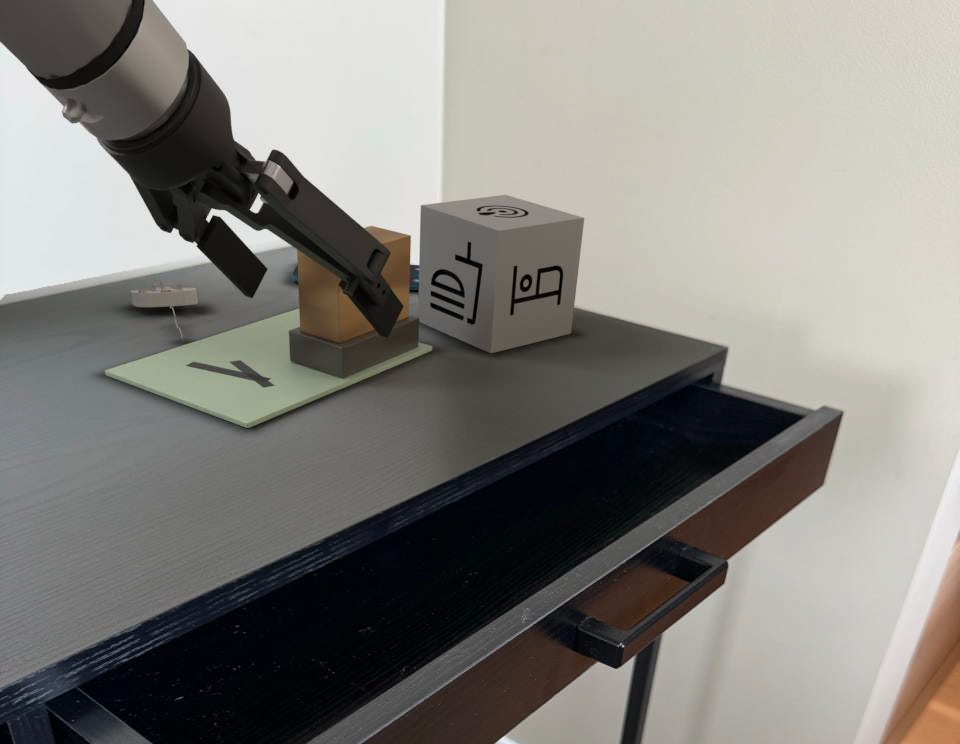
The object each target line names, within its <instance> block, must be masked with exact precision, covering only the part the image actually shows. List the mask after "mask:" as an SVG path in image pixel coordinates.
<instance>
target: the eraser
mask: <svg viewBox="0 0 960 744" xmlns="http://www.w3.org/2000/svg"><path fill="white" fill-rule="evenodd" d="M363 228H364V229H365V230H366V231H368V232H369V233H370V234H371V235H372V236H373V237H375V238H376V239H377V240H378V241H379V242H380V243H382V244H383V245H384V246H385V247H386V248H387V249H388V250H389V251H390V256H389V258H388V260H387V262H386V264H385V266H384V268H383V270H382V272H381V275H382V276H383V277H384V279H385V280H386V282H387V283H388V284H389V286H390V287H391V289H392V291H393V292H394V293H395V295H396V296H397V297H398V299H399V300H400V302H401V303H402V304H403V306H404V307H403V309H402V311H401V313H400V315H399V317H398V319H397V321H396V323H395V325H394V327H393V329H392V331H391V333H390V335H389V337H388V338H387V337H383V336H380V335H379V334H378V333H377V331H376V330H375V329H374V328H373V326H372V325H371V324H370V323H369V322H368V320H367V319H366V318H365V317H364V315H363V314H362V313H361V312H360V311H359V309H358V308H357V307H356V306H355V305H354V303H353V302H352V301H351V300H350V298H349V297H348V296H347V295H345V294H344V293H342V292H343V290H342V289H341V287H340V286H339V283H340V281H341V279H340V278H339V277H337V276H336V275H334V274H333V273H331V272H330V271H328V270H327V269H325V268H324V267H323V266H321V265H320V264H318V263H317V262H315V261H314V260H312V259H311V258H309V257H308V256H306V255H305V254H303V253H302V252H300V251H299V250H297V249H296V256H297V257H296V260H297V264H298V281H297V284H298V285H297V287H298V309H299V313H300V327H298V328H295V329H292V330H289V346H290V361H291V362H294V363H297V364H300V365H303V366H306V367H309V368H312V369H315V370H318V371H321V372H324V373H327V374H330V375H333V376H336V377H339V378H342V379H344V378H346V377H348V376H351V375H353V374H355V373H358V372H360V371H363V370H365V369H367V368H370V367H372V366H374V365H377V364H379V363H382V362H384V361H386V360H389V359H391V358H393V357H396V356H398V355H401V354H403V353H405V352H408V351H410V350H412V349H415V348H417V347H418V342H420V341H419V338H420V336H419V335H420V322H419V318H418V316H413V315H411V314H410V290H409V286H410V265H411V251H412V250H411V248H412V247H411V246H412V235H410V234H408V233H407V234H406V233H402V232H399V231H395V230H390V229H387V228H382V227H378V226H373V225H369V226H365V227H363Z"/></svg>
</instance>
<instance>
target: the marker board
mask: <svg viewBox="0 0 960 744" xmlns="http://www.w3.org/2000/svg"><path fill="white" fill-rule="evenodd" d="M298 327H300V313H299V308H296V309H293V310H290V311H287V312H283V313H281V314H277V315H275V316H271V317H267V318H265V319H262V320H261V319H260V320H258V321H255V322H253V323H249V324H246V325H242V326H240V327H236V328H234V329H229V330H227V331H223V332H221V333H218V334H215V335H211V336H209V337H208V336H207V337H205V338H202V339H199V340H196V341H193V342H189V343H186V344H183V345H180V346H177V347H174V348H171V349H170V348H169V349H167V350H164V351H161V352H158V353H155V354H152V355H149V356H146V357H142V358H139V359H136V360H133V361H130V362H128V363H123V364H120V365H117V366H113V367H110V368H109V369H105V370H104V374H105V376H106V377H108V378H112V379H115V380H117V381H120V382H123V383H125V384H128V385H130V386H133V387H135V388H138V389H140V390H143V391H146V392H149V393H152V394H155V395H157V396H160V397H163V398H165V399H168V400H171V401H173V402H176V403H179V404H181V405H184V406H187V407H189V408H192V409H194V410H197V411H200V412H202V413H205V414H208V415H211V416H213V417H216V418H218V419H221V420H225V421H227V422H228V423H229V422H230V423H232V424H234V425H238V426H240V427H243V428H245V429H250V428H252V427H255V426H257V425H260V424H261V423H264V422H267V421H269V420H271V419H273V418H276V417H278V416H280V415H283V414H286V413H288V412H290V411H293V410H295V409H297V408H300V407H302V406H304V405H306V404H310V403H311V402H314V401H316V400H318V399H322V398H323V397H326V396H328V395H331V394H334V393H335V392H337V391H340V390H343V389H345V388H347V387H349V386H352V385H354V384H356V383H359V382H361V381H363V380H366V379H368V378H370V377H373V376H376V375H378V374H380V373H382V372H385V371H387V370H390V369H392V368H395V367H397V366H399V365H402V364H404V363H406V362H408V361H411V360H413V359H416V358H419V357H421V356H423V355H425V354H427V353H431V352H432V351H433V345H430V344H426V343H423V342H420V341H419V342H418V347H417V348H415V349H412V350H410V351H408V352H405V353H403V354H401V355H398V356H396V357H393V358H391V359H389V360H386V361H384V362H382V363H379V364H377V365H374V366H372V367H370V368H367V369H365V370H363V371H360V372H358V373H355V374H353V375H351V376H348V377H346V378H344V379H342V378H339V377H336V376H333V375H330V374H327V373H324V372H321V371H318V370H315V369H312V368H309V367H306V366H303V365H300V364H297V363H294V362H291V361H290V346H289V330H292V329H295V328H298Z"/></svg>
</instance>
